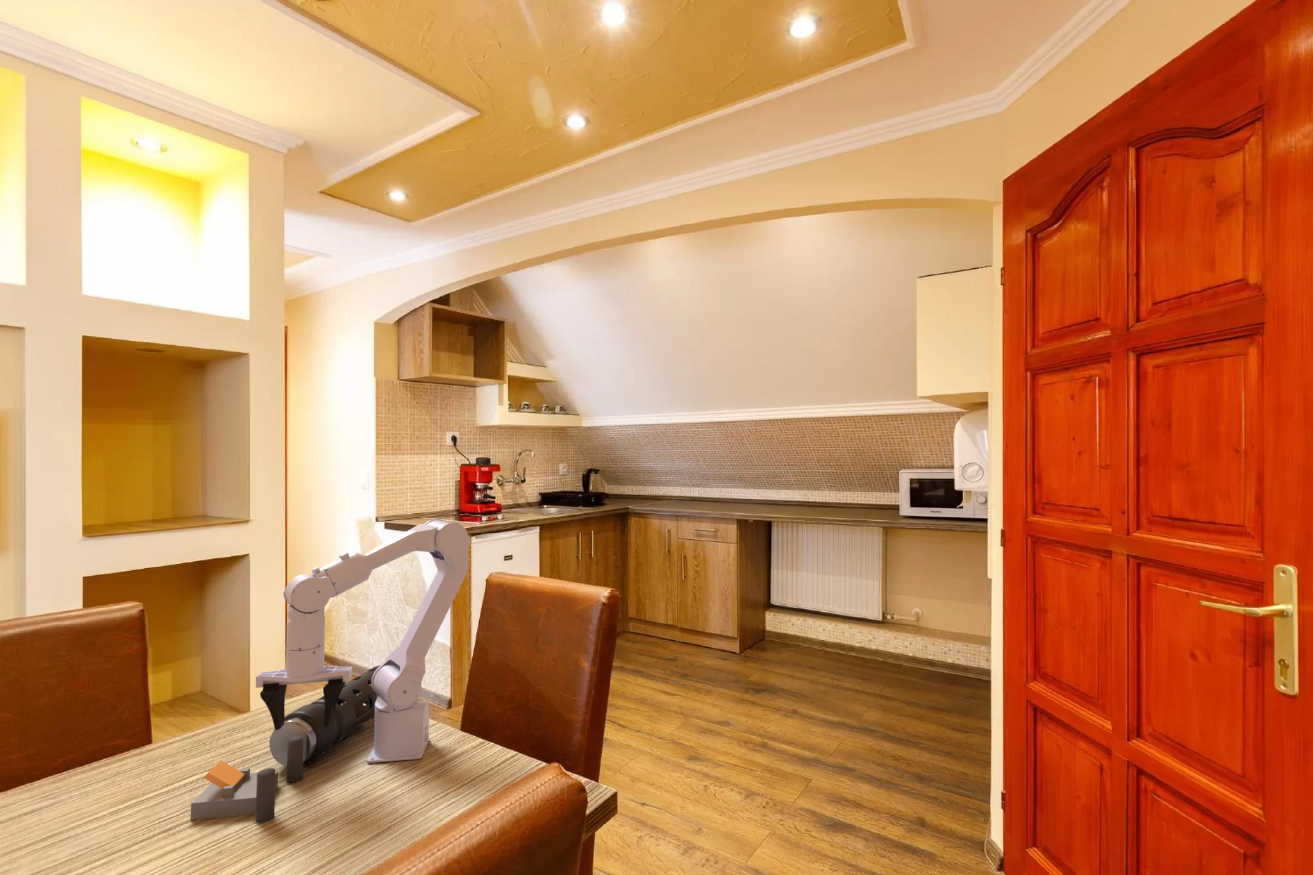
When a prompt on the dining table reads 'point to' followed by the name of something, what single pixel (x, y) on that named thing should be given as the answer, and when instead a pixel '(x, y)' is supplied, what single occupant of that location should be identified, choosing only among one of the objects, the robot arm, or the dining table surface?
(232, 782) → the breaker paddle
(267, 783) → the cylinder
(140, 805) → the dining table surface
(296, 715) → the muzzle brake
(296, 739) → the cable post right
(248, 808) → the switch box
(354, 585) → the robot arm
